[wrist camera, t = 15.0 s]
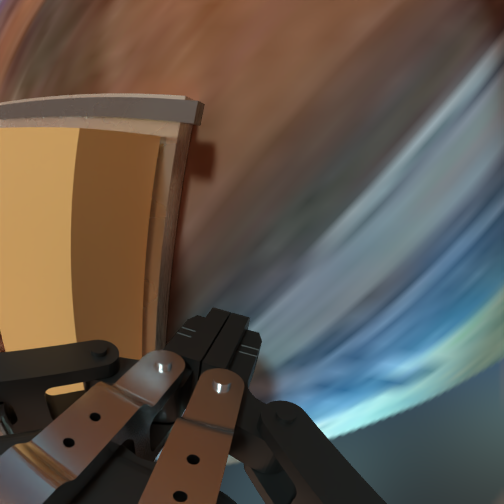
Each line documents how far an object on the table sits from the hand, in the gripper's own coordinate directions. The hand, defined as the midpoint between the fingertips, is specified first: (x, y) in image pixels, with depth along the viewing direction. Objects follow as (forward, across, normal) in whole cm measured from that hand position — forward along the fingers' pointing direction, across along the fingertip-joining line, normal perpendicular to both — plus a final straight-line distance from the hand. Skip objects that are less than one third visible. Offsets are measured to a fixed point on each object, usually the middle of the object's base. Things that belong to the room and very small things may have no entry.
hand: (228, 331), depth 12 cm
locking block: (+2, +8, 0) cm, 8 cm away
